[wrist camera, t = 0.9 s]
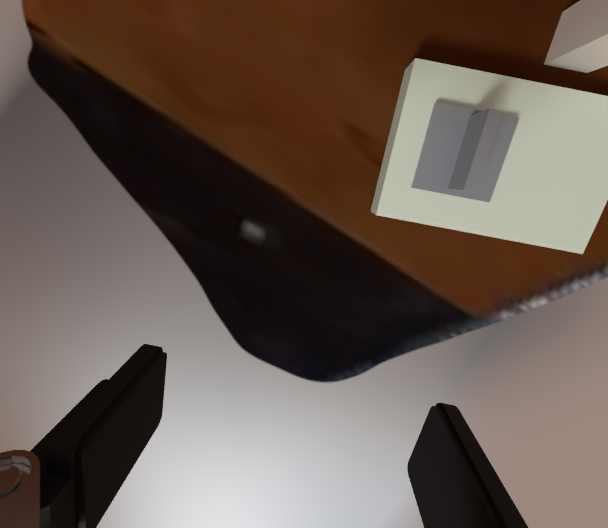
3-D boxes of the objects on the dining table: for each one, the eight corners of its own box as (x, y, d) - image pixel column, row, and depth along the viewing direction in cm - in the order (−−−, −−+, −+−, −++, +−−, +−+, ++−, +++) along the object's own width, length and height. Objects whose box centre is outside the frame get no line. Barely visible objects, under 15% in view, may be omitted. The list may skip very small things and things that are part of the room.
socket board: (405, 69, 28) (415, 58, 25) (617, 111, 28) (651, 104, 26) (370, 211, 32) (376, 214, 29) (558, 246, 32) (582, 254, 29)
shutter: (434, 103, 26) (452, 93, 23) (514, 119, 26) (545, 111, 23) (411, 187, 28) (424, 189, 25) (486, 201, 28) (509, 205, 25)
